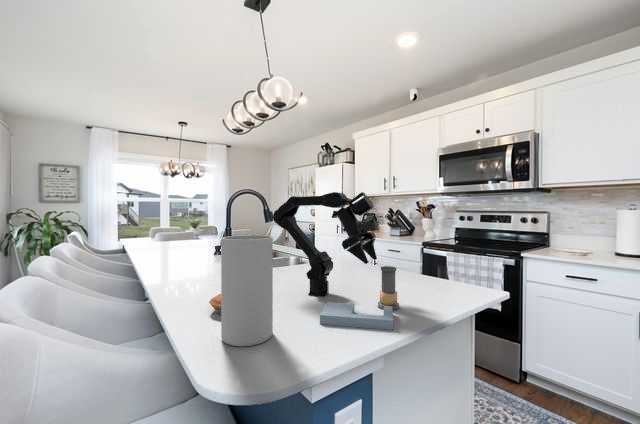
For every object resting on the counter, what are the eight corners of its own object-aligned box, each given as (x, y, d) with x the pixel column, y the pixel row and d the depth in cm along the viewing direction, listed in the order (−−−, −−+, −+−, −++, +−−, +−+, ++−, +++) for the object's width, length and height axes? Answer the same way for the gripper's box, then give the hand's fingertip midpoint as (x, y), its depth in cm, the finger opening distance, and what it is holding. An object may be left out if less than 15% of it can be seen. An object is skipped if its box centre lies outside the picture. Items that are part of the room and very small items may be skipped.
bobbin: (377, 309, 95) (377, 269, 95) (378, 303, 102) (378, 265, 102) (399, 311, 94) (399, 270, 94) (398, 304, 101) (398, 266, 101)
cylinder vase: (224, 352, 67) (224, 240, 67) (219, 331, 78) (219, 236, 78) (278, 342, 72) (278, 238, 72) (266, 324, 83) (266, 234, 83)
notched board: (319, 323, 84) (319, 315, 84) (327, 310, 95) (327, 302, 95) (393, 329, 79) (393, 320, 79) (392, 314, 91) (392, 306, 91)
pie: (198, 315, 91) (198, 298, 91) (230, 300, 106) (230, 286, 106) (240, 322, 85) (240, 304, 85) (268, 306, 100) (268, 291, 100)
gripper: (358, 211, 96) (382, 254, 93) (376, 211, 113) (398, 247, 109) (331, 228, 101) (354, 269, 97) (353, 225, 117) (372, 261, 114)
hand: (371, 261), depth 104 cm, fingers open, 9 cm apart
